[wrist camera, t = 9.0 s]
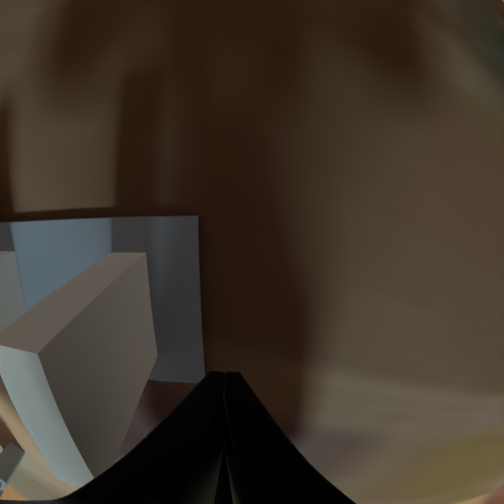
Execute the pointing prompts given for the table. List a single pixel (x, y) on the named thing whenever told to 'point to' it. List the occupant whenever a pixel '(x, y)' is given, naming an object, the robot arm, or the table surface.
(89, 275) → the tile
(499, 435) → the table surface
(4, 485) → the lighter
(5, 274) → the tile
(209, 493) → the robot arm
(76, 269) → the runner
